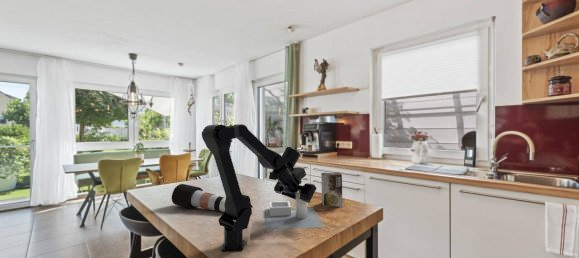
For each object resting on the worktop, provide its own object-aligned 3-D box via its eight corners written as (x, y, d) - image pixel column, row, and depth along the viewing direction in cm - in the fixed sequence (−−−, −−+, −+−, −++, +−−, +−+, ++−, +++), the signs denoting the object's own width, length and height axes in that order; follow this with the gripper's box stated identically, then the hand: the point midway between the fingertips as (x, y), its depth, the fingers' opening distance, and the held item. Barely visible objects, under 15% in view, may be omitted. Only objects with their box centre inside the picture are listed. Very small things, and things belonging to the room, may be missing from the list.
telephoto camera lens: (236, 225, 111) (232, 208, 106) (175, 209, 122) (169, 193, 118) (247, 209, 119) (244, 192, 115) (189, 195, 131) (184, 179, 126)
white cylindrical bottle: (308, 218, 103) (308, 188, 103) (296, 218, 102) (296, 189, 103) (306, 214, 108) (306, 186, 108) (295, 215, 107) (295, 186, 107)
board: (325, 230, 94) (325, 217, 94) (265, 232, 92) (265, 219, 92) (312, 210, 118) (312, 199, 118) (264, 211, 116) (264, 201, 116)
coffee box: (339, 204, 126) (339, 172, 126) (342, 208, 120) (342, 174, 120) (321, 205, 126) (321, 172, 126) (323, 209, 119) (323, 174, 119)
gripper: (313, 163, 96) (330, 188, 104) (278, 159, 109) (296, 181, 117) (299, 187, 90) (318, 211, 98) (264, 180, 103) (284, 202, 111)
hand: (303, 200), depth 106 cm, fingers open, 6 cm apart
